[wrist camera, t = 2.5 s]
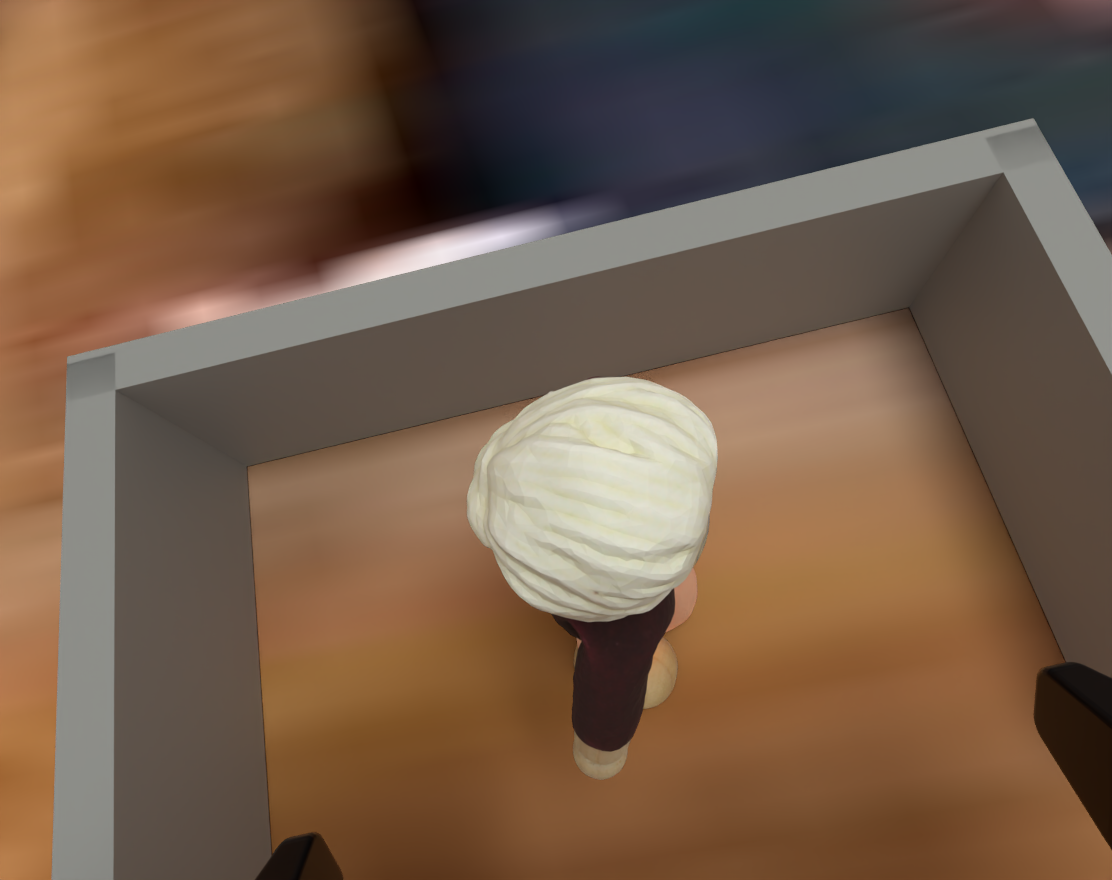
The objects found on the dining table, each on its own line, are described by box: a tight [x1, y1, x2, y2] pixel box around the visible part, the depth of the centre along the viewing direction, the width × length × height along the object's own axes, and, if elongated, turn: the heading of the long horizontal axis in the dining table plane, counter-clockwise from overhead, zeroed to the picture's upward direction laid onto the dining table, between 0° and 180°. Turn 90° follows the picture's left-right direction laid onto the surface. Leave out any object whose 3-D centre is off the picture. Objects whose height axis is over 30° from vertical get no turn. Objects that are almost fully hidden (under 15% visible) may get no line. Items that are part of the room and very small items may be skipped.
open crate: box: [52, 119, 1112, 880], centre depth 17 cm, size 14×23×6 cm, turn 102°
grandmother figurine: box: [467, 376, 718, 780], centre depth 14 cm, size 8×4×13 cm, turn 9°
